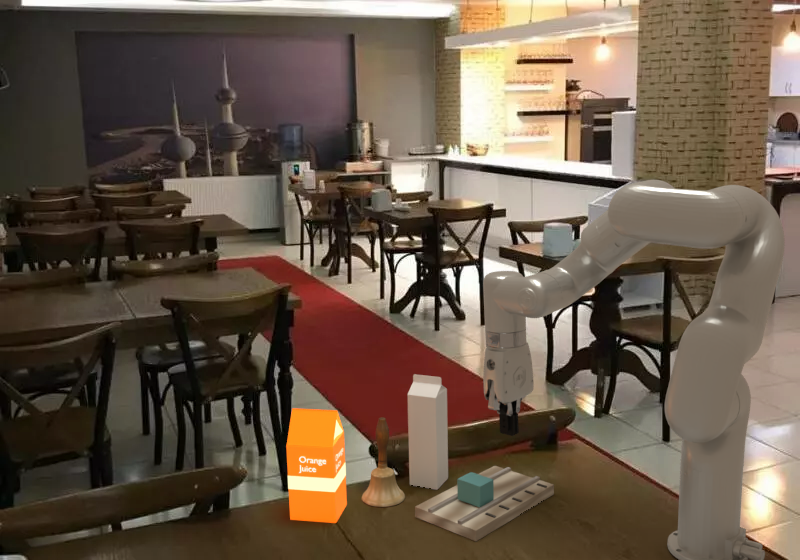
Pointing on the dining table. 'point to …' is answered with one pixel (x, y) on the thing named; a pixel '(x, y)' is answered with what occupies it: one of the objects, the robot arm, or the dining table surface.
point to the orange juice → (316, 465)
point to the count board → (477, 522)
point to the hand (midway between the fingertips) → (509, 433)
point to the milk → (427, 432)
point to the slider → (475, 489)
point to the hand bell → (382, 475)
